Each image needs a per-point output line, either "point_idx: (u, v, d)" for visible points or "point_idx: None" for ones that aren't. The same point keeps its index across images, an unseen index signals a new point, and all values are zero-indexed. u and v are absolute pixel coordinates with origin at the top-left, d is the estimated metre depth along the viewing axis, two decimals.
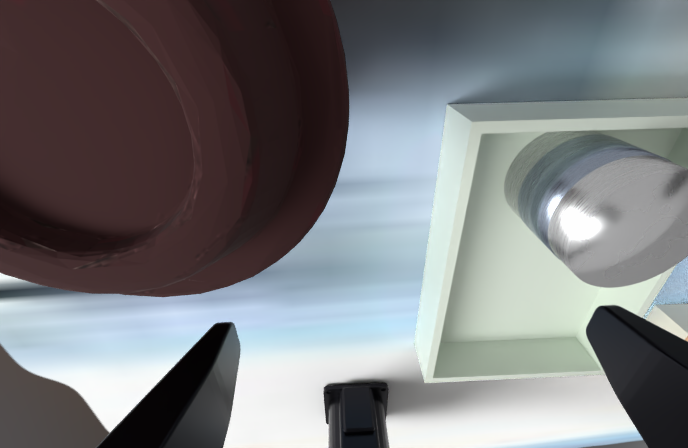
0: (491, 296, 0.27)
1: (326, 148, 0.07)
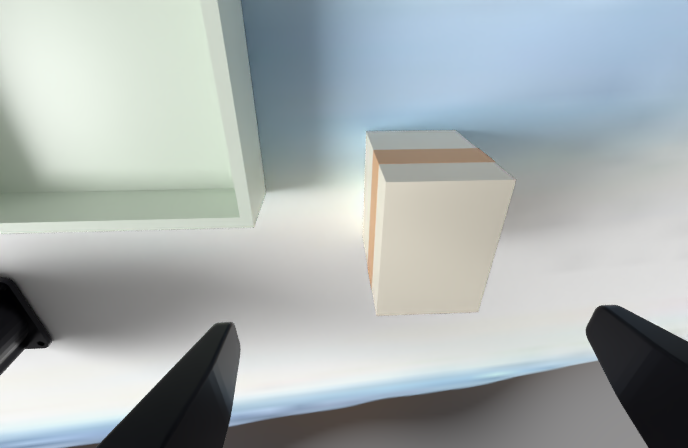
0: (48, 87, 0.16)
1: None
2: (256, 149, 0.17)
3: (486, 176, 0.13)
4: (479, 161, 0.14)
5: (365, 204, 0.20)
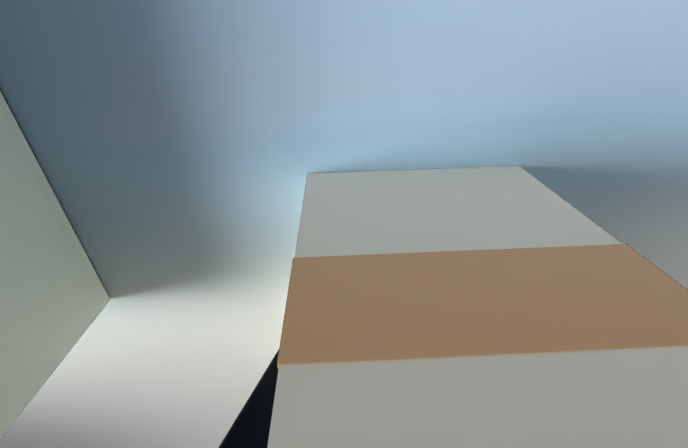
0: None
1: None
2: (27, 229, 0.07)
3: None
4: (685, 336, 0.04)
5: None
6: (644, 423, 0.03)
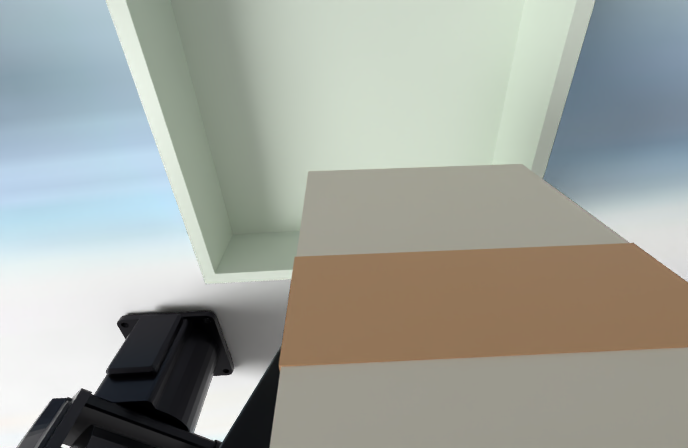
0: (314, 133, 0.16)
1: None
2: None
3: None
4: None
5: None
6: (658, 427, 0.03)
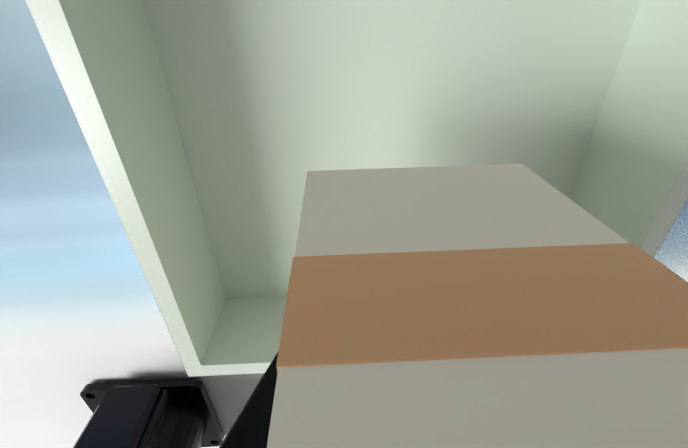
0: None
1: None
2: None
3: None
4: None
5: None
6: (658, 428, 0.03)
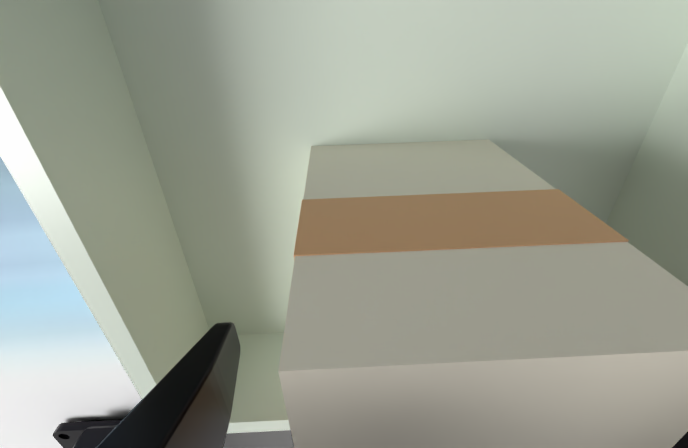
0: None
1: None
2: None
3: (643, 325, 0.04)
4: (581, 238, 0.05)
5: None
6: (535, 279, 0.04)
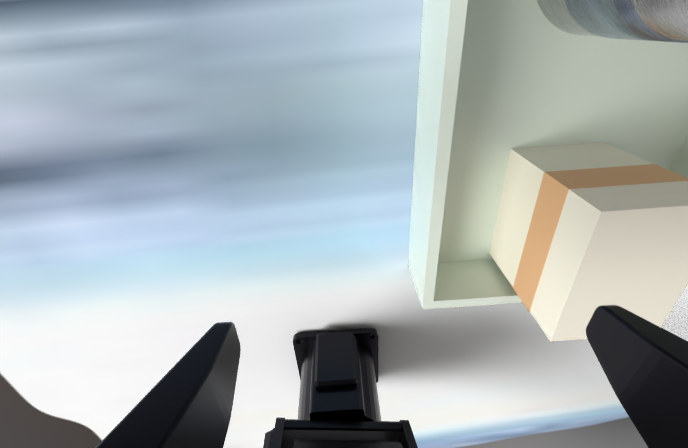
0: None
1: None
2: None
3: None
4: (672, 180, 0.14)
5: (505, 222, 0.19)
6: (662, 191, 0.13)
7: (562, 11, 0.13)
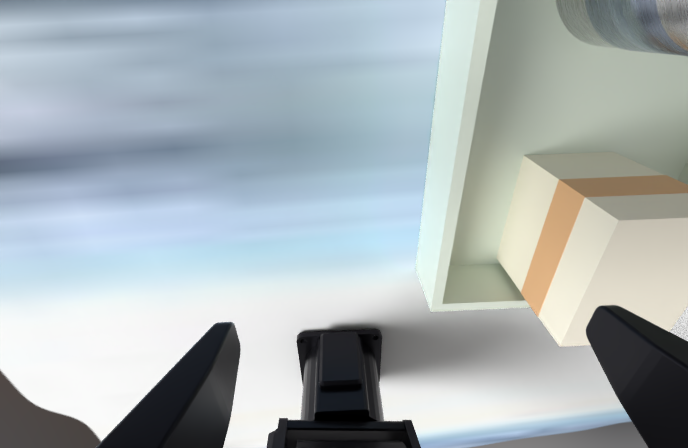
0: None
1: None
2: None
3: None
4: (685, 191, 0.14)
5: (514, 228, 0.19)
6: (676, 202, 0.13)
7: (583, 22, 0.14)
